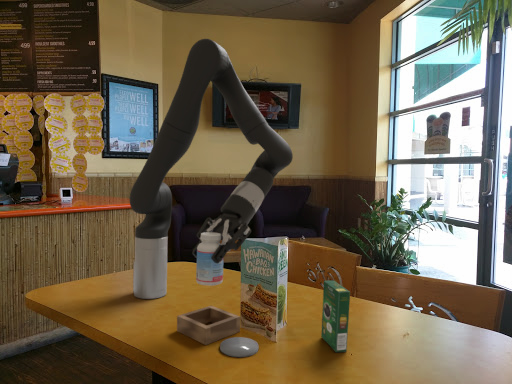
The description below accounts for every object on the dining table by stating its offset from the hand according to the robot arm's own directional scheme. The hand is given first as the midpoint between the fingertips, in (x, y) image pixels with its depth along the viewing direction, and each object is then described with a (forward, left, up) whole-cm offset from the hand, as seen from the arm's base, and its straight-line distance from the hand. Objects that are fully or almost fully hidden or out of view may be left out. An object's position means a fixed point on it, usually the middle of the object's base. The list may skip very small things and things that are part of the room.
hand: (204, 258), depth 87 cm
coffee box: (+24, +17, -17) cm, 34 cm away
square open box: (0, +2, -17) cm, 17 cm away
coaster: (+11, +1, -17) cm, 20 cm away
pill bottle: (0, +2, -6) cm, 6 cm away
